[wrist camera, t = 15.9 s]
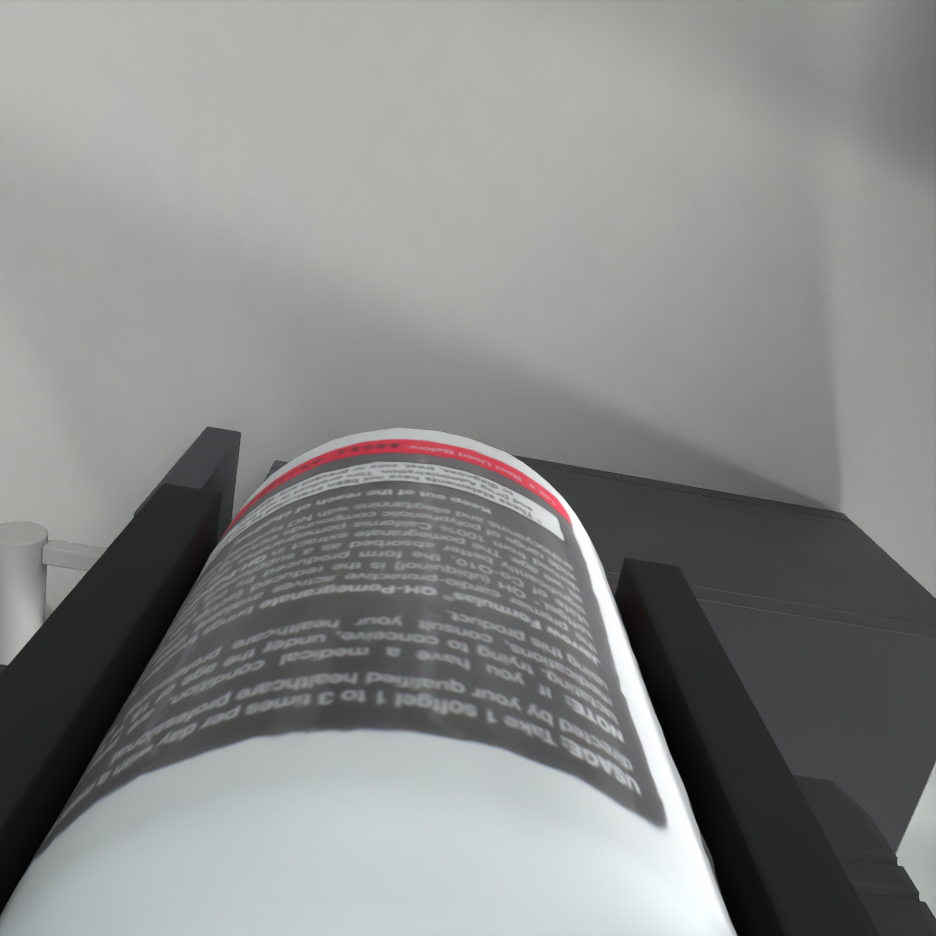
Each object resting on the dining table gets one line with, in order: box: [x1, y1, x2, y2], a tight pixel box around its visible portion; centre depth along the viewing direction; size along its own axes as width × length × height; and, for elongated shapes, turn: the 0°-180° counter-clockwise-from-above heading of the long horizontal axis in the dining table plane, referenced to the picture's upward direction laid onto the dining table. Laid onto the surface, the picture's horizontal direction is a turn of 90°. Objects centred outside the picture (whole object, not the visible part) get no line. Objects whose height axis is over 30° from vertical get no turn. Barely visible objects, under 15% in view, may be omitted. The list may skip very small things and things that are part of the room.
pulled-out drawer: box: [0, 427, 288, 665], centre depth 30 cm, size 18×11×8 cm, turn 79°
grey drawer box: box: [511, 455, 936, 855], centre depth 31 cm, size 15×13×10 cm
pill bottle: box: [0, 428, 738, 936], centre depth 8 cm, size 5×5×10 cm
